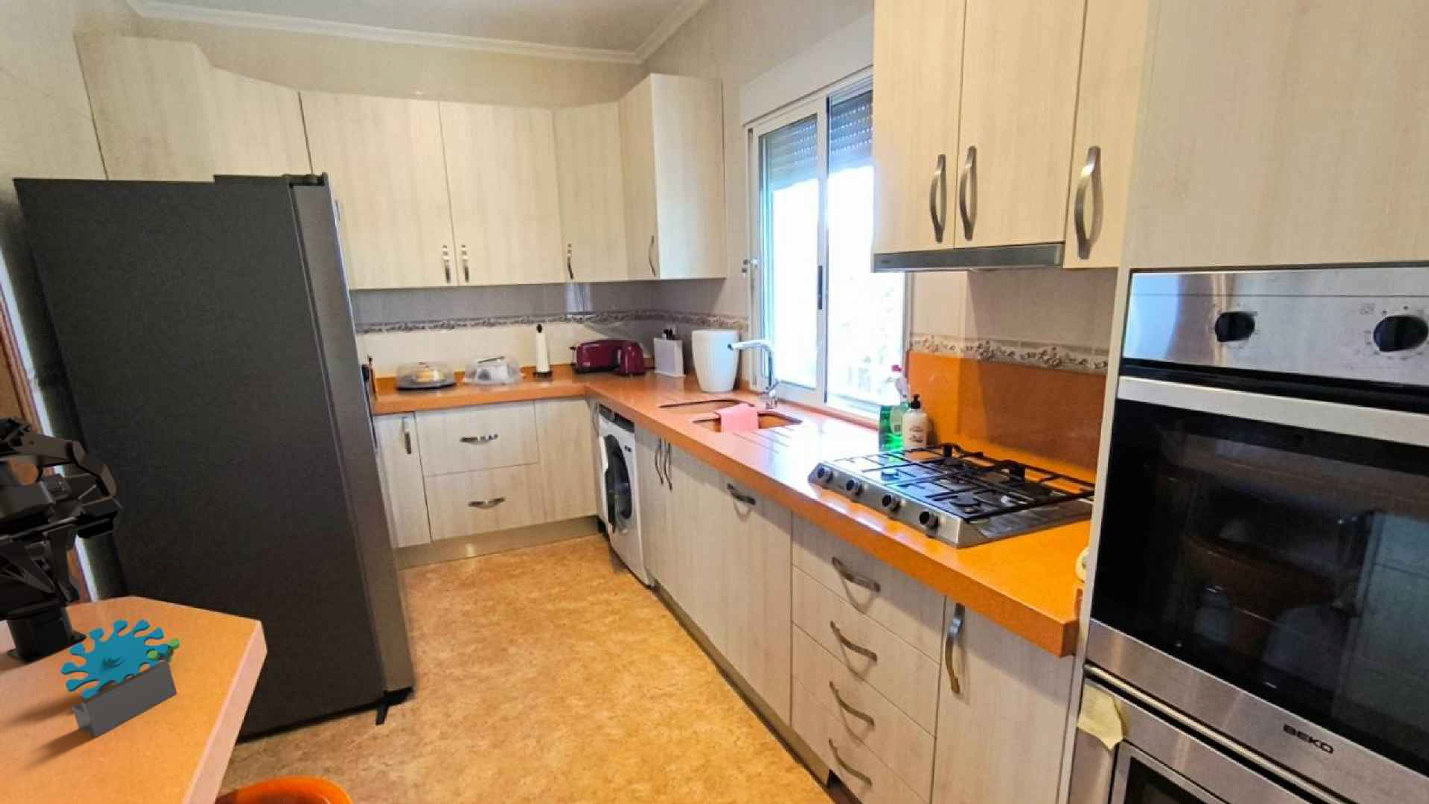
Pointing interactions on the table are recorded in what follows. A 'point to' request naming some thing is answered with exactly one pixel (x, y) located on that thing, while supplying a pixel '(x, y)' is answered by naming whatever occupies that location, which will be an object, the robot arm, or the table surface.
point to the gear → (117, 656)
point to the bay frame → (125, 700)
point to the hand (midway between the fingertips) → (60, 588)
